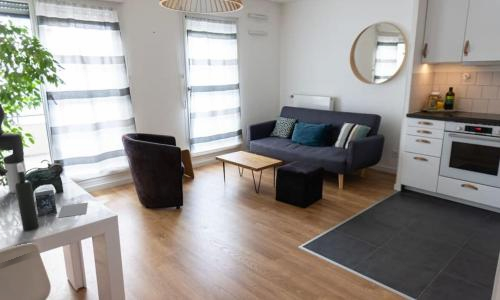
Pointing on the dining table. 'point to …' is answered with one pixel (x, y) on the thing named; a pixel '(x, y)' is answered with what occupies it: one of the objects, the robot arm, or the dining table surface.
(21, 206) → the wine bottle
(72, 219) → the dining table surface
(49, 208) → the box
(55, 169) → the ceramic cat
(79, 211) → the mat
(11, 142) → the robot arm
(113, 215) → the dining table surface
